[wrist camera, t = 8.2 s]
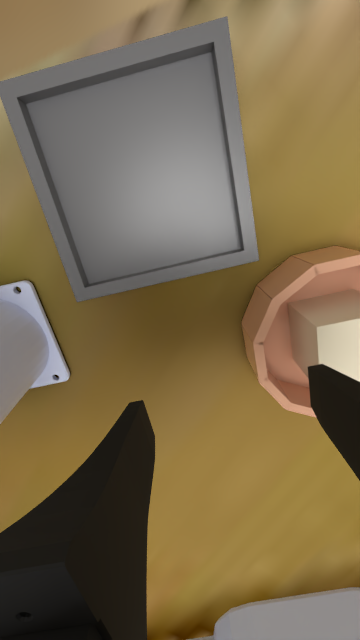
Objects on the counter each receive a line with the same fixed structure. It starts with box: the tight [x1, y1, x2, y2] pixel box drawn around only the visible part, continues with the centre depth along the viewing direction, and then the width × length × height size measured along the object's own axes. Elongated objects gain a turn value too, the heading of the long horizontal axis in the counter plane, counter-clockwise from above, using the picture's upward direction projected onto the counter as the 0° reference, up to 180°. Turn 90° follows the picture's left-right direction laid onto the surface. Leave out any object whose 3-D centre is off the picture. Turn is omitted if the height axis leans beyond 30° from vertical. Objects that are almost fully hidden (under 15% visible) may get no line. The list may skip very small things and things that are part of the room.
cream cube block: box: [288, 289, 360, 382], centre depth 19 cm, size 4×4×4 cm
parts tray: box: [0, 17, 259, 302], centre depth 17 cm, size 12×12×2 cm
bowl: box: [241, 246, 360, 418], centre depth 20 cm, size 11×11×4 cm
